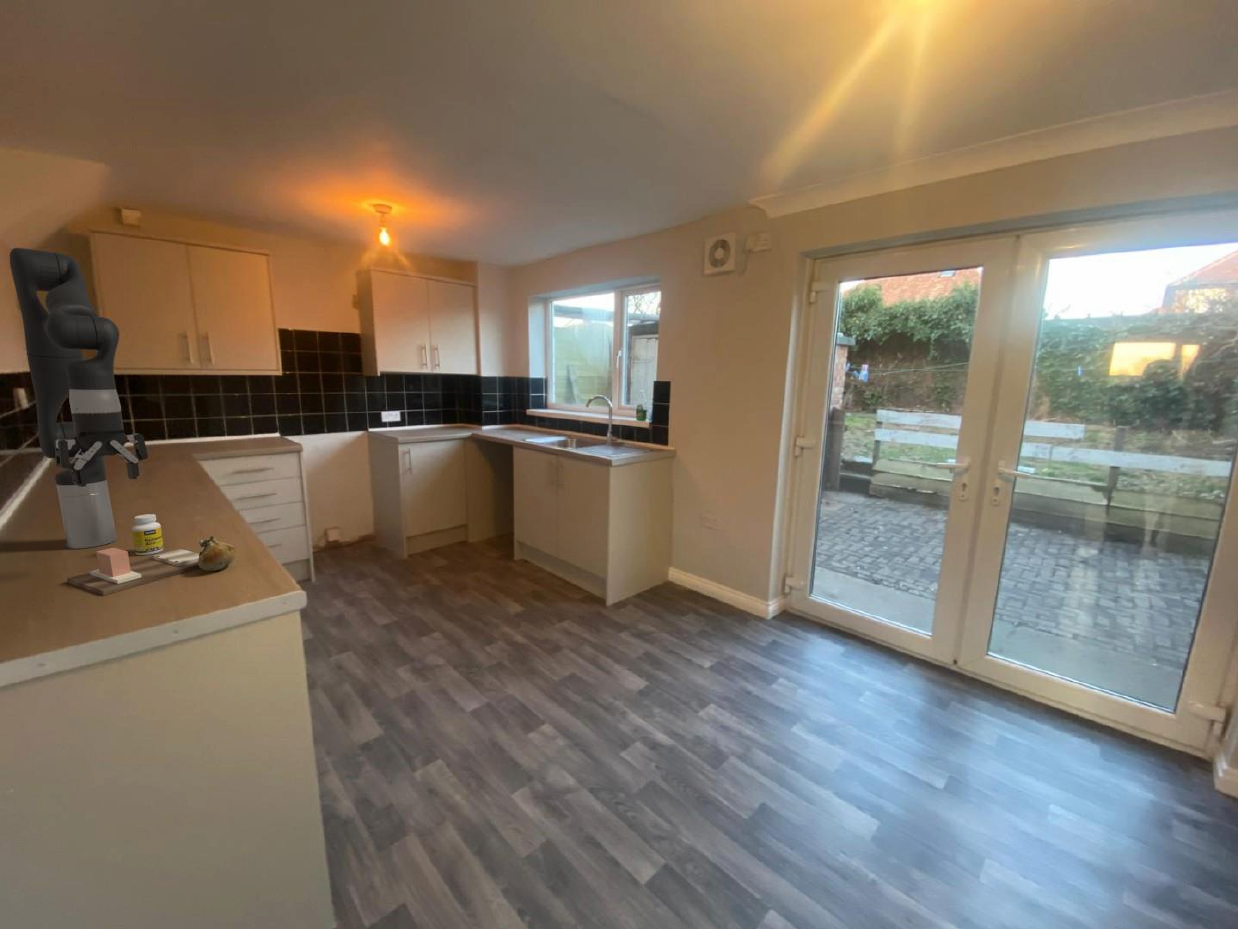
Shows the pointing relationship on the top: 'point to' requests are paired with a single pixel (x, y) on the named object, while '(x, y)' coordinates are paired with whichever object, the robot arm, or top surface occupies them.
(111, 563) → the pink and white block
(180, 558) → the board
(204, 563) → the onion
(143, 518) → the supplement bottle
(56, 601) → the top surface
